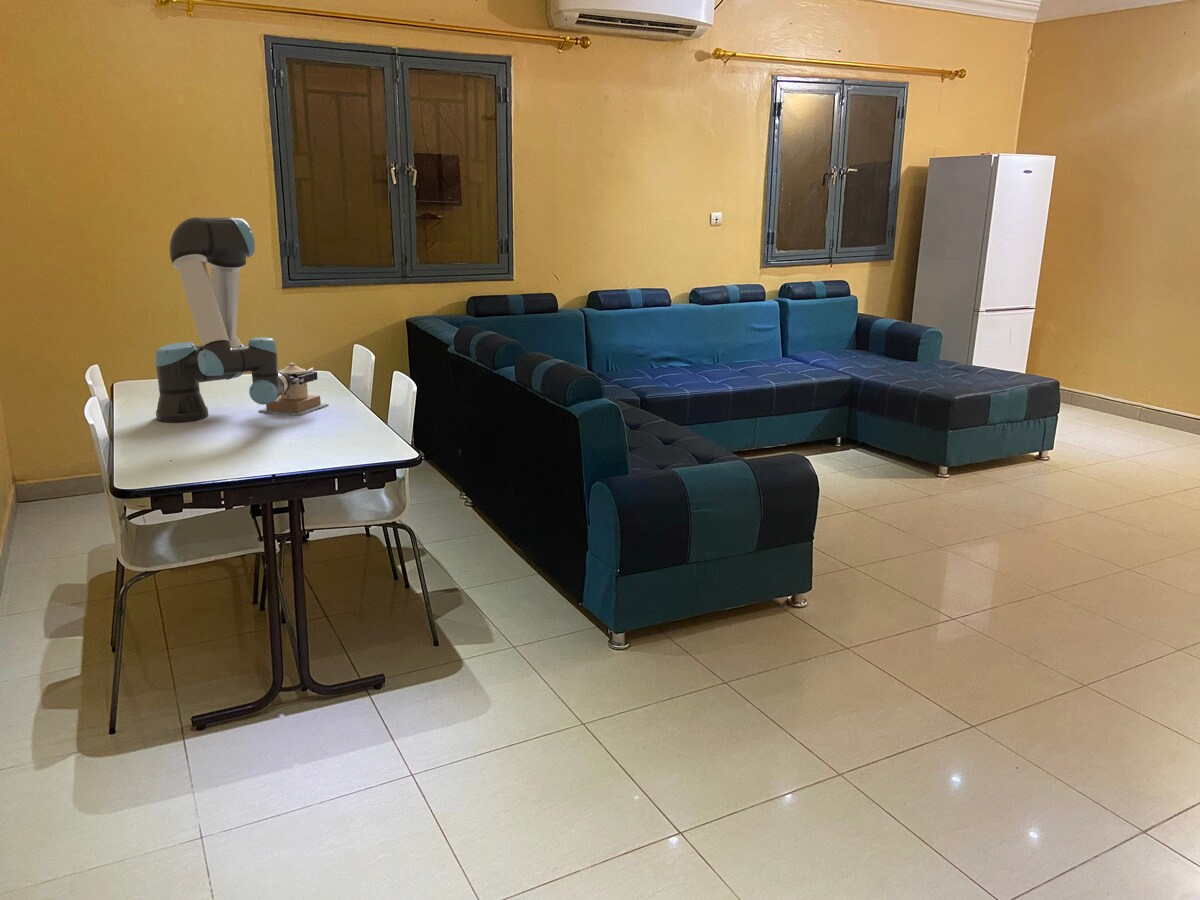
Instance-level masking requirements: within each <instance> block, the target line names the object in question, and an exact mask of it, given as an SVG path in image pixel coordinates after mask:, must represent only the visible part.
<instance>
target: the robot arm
mask: <svg viewBox="0 0 1200 900" xmlns="http://www.w3.org/2000/svg"><path fill="white" fill-rule="evenodd" d="M255 250H256V242H255V237H254V234H253V231H252V228H251V227H250V225H249V224H248V222H247V221H246V220H244V219H243V218H241V217H230V216H228V217H199V216H198V217H197V216H196V217H189V218H187V219H185V220H183V221H181V222H180V223H179V224H178V225H177V226H176V227H175V229H174V231H173V232H172V234H171V238H170V241H169V257H170V260H171V263H172V266H173V268H175V269H176V270H178V274H179V277H180V280H181V284H182V287H183V290H184V293H185V295H186V298H187V301H188V306H189V308H190V311H191V315H192V318H193V321H194V324H195V327H196V331H197V334H198V337H199V341H200V343H201V344H200V345H195V343H194V342H192V341H190V342H189V341H184V342H176V343H175V342H174V343H169V344H167V345H163V346H160V347H158V349H156V351H155V353H154V356H155V362H154V365H155V367H156V368H155V369H156V376H157V383H158V391H159V397H158V402H157V408H156V410H155V418H156V420H157V421H159V422H163V423H182V422H191V421H197V420H202V419H204V418H206V417H208V416H209V410H208V409H209V408H208V407H207V406H206V403H205V401H204V398H203V396H202V394H201V389H200V383H206V382H207V383H208V382H214V381H224V380H228V381H229V380H232V379H236V378H240V377H241V376H242V375H243V374H244V373H249V372H251V378H252V379H251V380H252V384H251V385H250V387H249V391H248V392H249V393H248V394H249V397H250V398H251V400H252V401H253V402H254V403H256V404H258V405H266V404H268V403H271V402H273V401H275V400H276V399H277V398H278V397H280V396H281V395H282V394H284V393H285V392H286V391H288V390H289V388H290V386H291V385H292V384H296V383H297V382H298V383H299V384H300V385H302V384H304V383H307V384H308V383H310V382H313V381H317V380H318V371H315V369H314V367H310V368H309V369H307V370H306V371H307V372H304V373H299V374H295V373H290V374H287V373H285V372H284V371H281V370H282V369H278V367H279V366H278V351H277V344H276V341H275V339H273V338H272V337H267V336H266V337H263V336H261V337H254V338H250V339H249V340H248V345H244V344H243V343H242V342H241V340H240V339H239V337H237V329H238V328H237V327H238V314H239V313H238V311H239V296H240V295H239V293H240V277H241V269H243V268H244V267H245V266H246V265H247V258H250V257H252V256H253V255H254V254H255ZM207 264H209V271H208V268H207Z"/></svg>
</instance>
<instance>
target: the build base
mask: <svg viewBox="0 0 1200 900" xmlns="http://www.w3.org/2000/svg"><path fill="white" fill-rule="evenodd" d="M265 406H266V407H264V408H262V409H259V410H258V413H263V412H269V413H268V414H275V413H278V414H279V415H287V414H294V415H293V416H300V415H301V416H303V415H302V414H304V415H306V414H305V413H307V414H309V413H312V412H315V411H317V410H316V409H318V410H320V409H319V408H321V409H323V408H326V407H328V406H329V403H322V402H321V396H320V395H314V394H308V397H307V398H304V399H298V400H285V399H282V398H281V396H279V397H278V398H277V399H276V400H275V401H273V402H271V403H268V404H265ZM325 406H326V407H325ZM322 407H323V408H322ZM314 410H315V411H314ZM311 411H312V412H311ZM308 412H309V413H308ZM278 414H277V415H278Z"/></svg>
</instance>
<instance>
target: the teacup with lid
mask: <svg viewBox="0 0 1200 900" xmlns="http://www.w3.org/2000/svg"><path fill="white" fill-rule="evenodd" d="M280 370H281V371H284V372H285V373H287V374H290V373H295V374H299V373H304V372H307V370H306V369H305V368H301V367H299V366H298V365H296V363H295V362H289V363H288V366H286V367H285V368H284V367H283V368H282V369H280ZM308 395H309V393H308V382H307V383H304V384H302V385H300V384H299V383H298V382H297V383H296V384H292V385H291V386H290V388H289V390H288V391H286V392H285V393H284V394H282V395H281V398H282V399H285V400H298V399H304V398H307V397H308Z"/></svg>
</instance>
